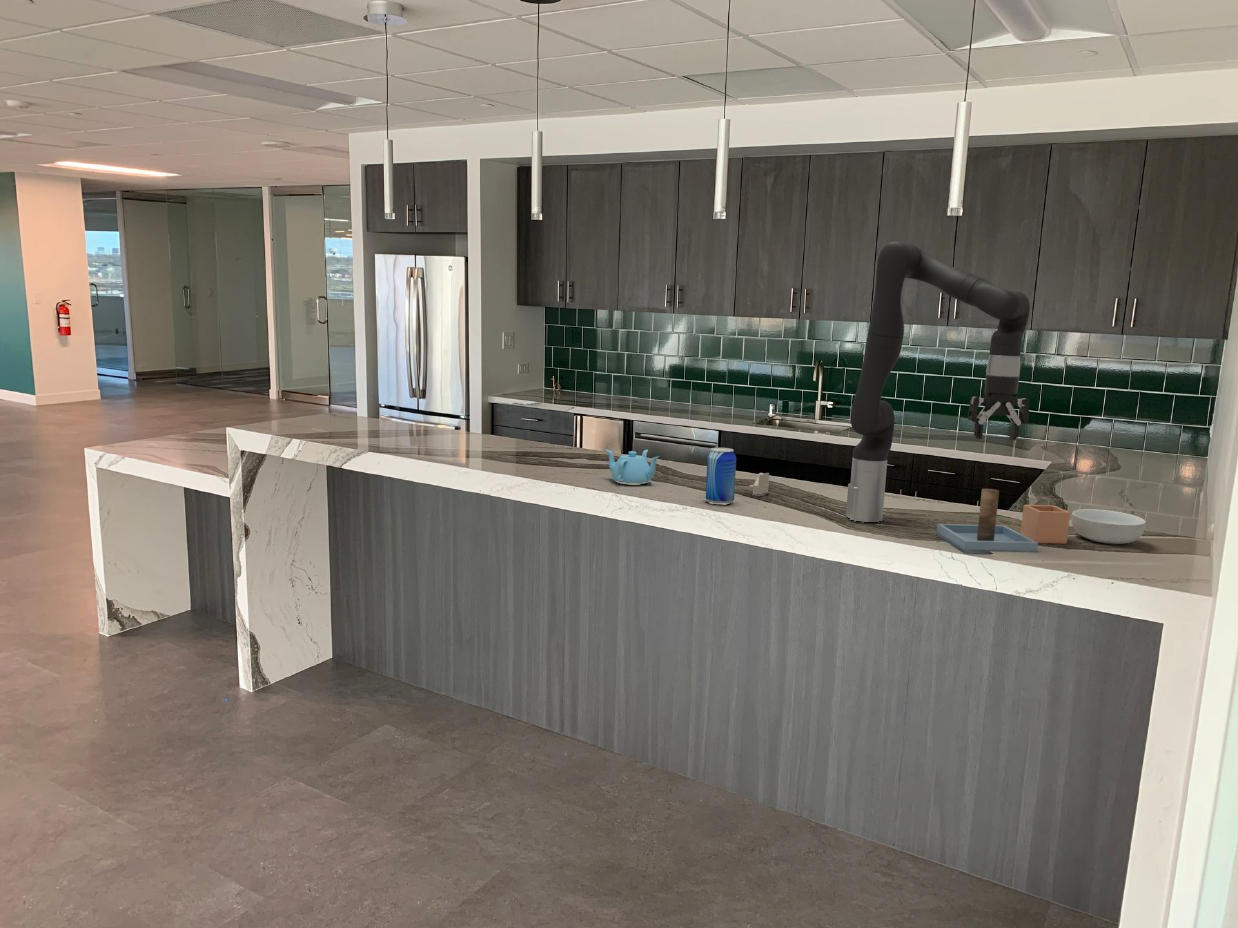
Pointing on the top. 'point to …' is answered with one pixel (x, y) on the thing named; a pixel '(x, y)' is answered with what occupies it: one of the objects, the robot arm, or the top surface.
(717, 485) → the beer can
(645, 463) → the teapot
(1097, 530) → the cereal bowl
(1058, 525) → the terracotta open box
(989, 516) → the walnut peg
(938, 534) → the slate-blue tray
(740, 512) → the top surface
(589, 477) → the top surface
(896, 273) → the robot arm
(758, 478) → the architectural model
